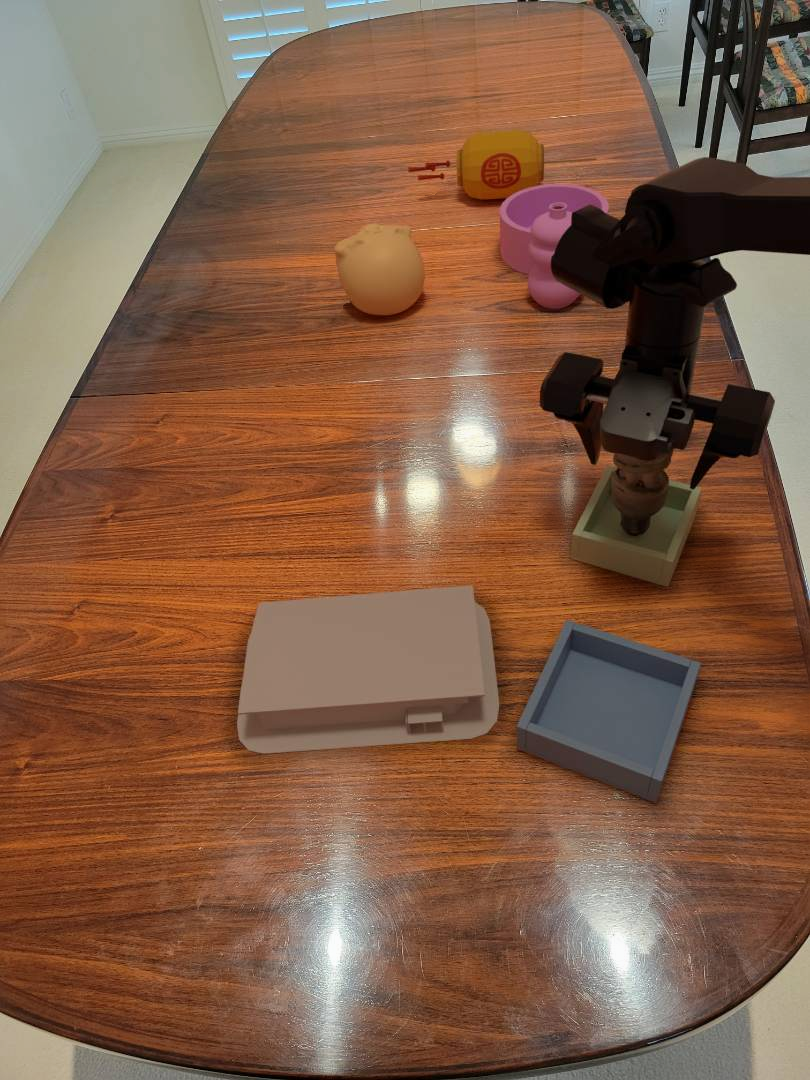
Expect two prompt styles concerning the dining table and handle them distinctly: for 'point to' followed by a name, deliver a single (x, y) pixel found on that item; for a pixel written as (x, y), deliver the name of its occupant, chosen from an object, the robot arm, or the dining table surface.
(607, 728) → the gray square bin
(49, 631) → the dining table surface
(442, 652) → the book
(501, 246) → the container set
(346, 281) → the sculpture
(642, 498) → the brown ridged cylinder
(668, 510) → the right bin
